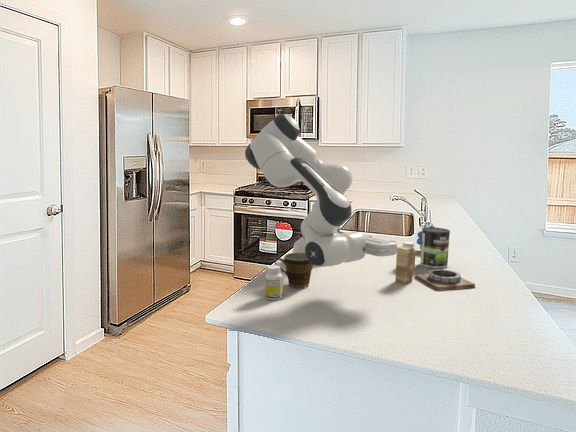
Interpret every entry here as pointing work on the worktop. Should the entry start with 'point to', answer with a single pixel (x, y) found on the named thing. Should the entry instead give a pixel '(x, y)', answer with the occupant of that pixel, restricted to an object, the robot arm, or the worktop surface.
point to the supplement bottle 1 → (273, 283)
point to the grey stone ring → (437, 277)
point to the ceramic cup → (297, 269)
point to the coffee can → (435, 247)
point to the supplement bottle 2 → (411, 244)
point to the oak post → (404, 264)
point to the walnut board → (441, 286)
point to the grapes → (419, 240)
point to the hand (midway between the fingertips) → (382, 240)
